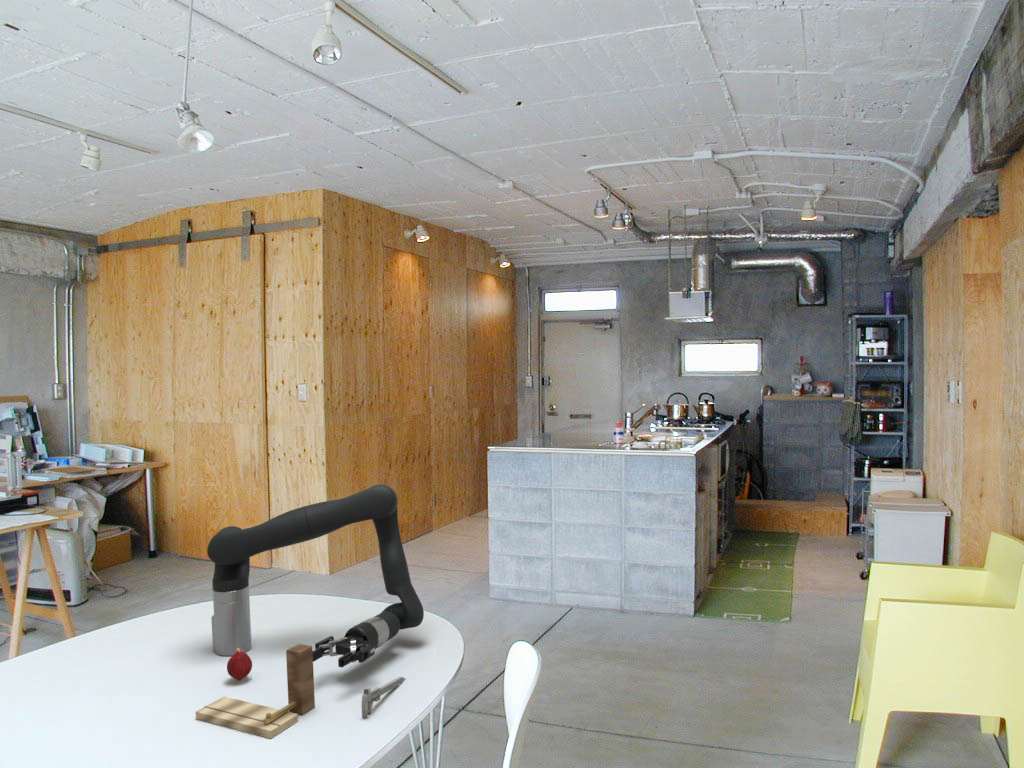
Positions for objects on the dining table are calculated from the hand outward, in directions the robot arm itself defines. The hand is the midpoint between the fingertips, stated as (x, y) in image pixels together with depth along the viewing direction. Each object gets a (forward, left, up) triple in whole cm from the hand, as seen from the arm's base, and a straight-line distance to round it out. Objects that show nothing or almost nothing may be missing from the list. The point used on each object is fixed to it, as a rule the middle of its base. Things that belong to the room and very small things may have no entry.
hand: (325, 660), depth 175 cm
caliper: (+14, +4, -9) cm, 17 cm away
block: (0, -13, -8) cm, 15 cm away
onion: (-25, -2, -8) cm, 26 cm away
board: (-8, -17, -8) cm, 20 cm away
